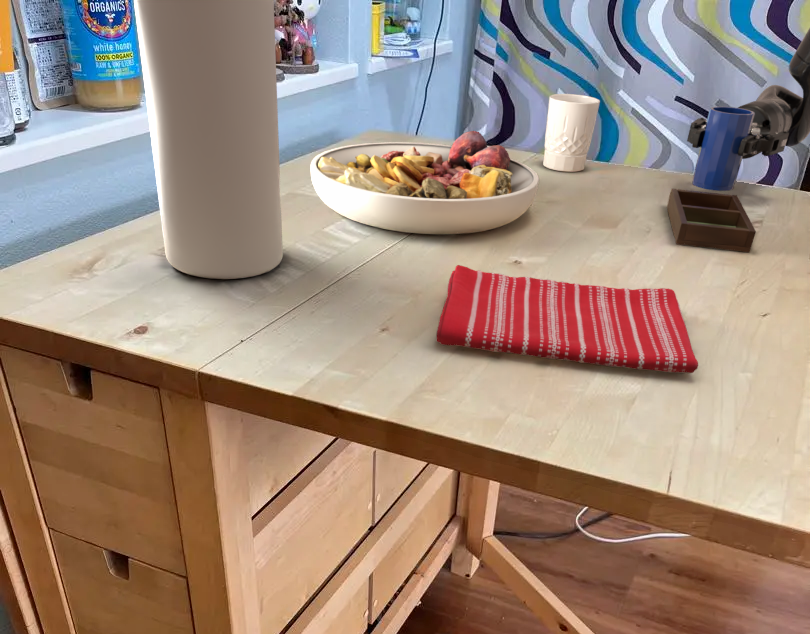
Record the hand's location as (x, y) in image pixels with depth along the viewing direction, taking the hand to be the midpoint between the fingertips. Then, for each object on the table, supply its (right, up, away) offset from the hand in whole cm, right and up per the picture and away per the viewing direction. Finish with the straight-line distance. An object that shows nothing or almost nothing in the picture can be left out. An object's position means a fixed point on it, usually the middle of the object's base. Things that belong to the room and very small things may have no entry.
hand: (719, 143), depth 114 cm
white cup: (-19, +5, +18) cm, 26 cm away
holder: (-4, -14, -6) cm, 16 cm away
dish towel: (-29, -36, -36) cm, 58 cm away
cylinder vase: (-64, -26, -26) cm, 74 cm away
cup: (+1, -4, +5) cm, 6 cm away
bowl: (-42, -11, -5) cm, 44 cm away
